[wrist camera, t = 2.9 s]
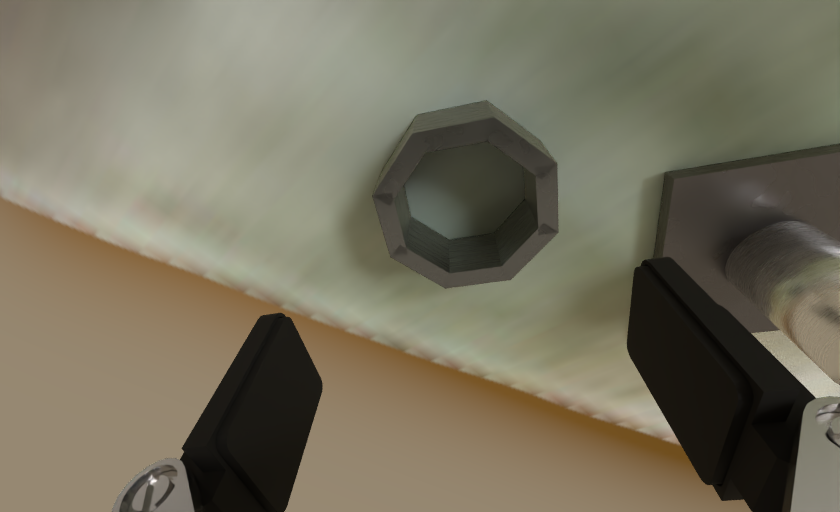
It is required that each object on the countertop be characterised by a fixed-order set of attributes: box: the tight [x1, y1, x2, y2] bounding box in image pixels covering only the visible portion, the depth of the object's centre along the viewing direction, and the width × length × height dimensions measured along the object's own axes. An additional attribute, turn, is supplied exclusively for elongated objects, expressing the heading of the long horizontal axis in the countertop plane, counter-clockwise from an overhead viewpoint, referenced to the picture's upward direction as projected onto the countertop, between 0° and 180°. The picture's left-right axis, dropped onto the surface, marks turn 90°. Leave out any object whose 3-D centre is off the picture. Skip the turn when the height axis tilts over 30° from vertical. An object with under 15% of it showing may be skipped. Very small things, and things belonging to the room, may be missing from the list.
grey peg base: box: [654, 144, 840, 385], centre depth 16 cm, size 10×10×7 cm
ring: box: [372, 100, 558, 288], centre depth 17 cm, size 7×7×3 cm
